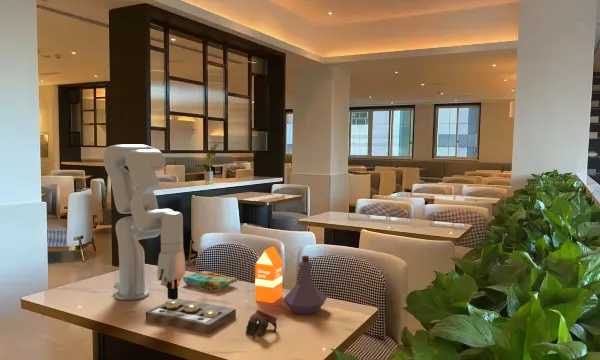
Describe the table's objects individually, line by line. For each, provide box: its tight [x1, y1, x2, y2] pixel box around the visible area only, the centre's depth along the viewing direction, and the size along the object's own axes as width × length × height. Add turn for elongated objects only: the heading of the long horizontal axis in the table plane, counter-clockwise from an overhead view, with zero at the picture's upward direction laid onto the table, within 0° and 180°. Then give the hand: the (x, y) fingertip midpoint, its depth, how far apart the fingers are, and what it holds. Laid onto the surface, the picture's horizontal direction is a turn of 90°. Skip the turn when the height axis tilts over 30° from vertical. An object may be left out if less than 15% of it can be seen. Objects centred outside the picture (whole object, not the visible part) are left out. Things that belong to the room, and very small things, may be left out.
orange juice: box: [254, 245, 283, 304], centre depth 184 cm, size 8×9×20 cm
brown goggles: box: [245, 309, 278, 339], centre depth 150 cm, size 12×10×8 cm
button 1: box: [164, 299, 180, 311], centre depth 165 cm, size 5×5×2 cm
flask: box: [282, 255, 327, 316], centre depth 171 cm, size 16×16×20 cm
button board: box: [145, 297, 237, 335], centre depth 162 cm, size 26×16×3 cm, turn 66°
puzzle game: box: [182, 270, 238, 292], centre depth 199 cm, size 12×5×20 cm
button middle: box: [184, 303, 199, 315], centre depth 162 cm, size 5×5×2 cm
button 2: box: [203, 310, 218, 318], centre depth 159 cm, size 5×5×2 cm
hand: (172, 298), depth 165 cm, fingers closed
